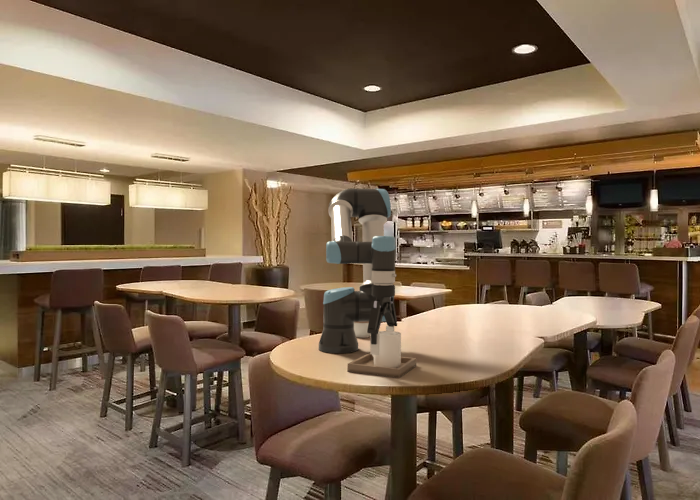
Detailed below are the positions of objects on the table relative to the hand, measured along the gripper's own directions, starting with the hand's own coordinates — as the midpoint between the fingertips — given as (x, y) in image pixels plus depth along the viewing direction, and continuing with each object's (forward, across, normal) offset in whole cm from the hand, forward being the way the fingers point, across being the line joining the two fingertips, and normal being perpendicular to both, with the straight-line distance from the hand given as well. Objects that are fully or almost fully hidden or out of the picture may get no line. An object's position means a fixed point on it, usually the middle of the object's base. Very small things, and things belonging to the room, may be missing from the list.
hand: (382, 350), depth 161 cm
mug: (+5, 0, 0) cm, 5 cm away
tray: (+6, 0, 0) cm, 6 cm away
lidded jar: (+7, +50, +29) cm, 58 cm away
